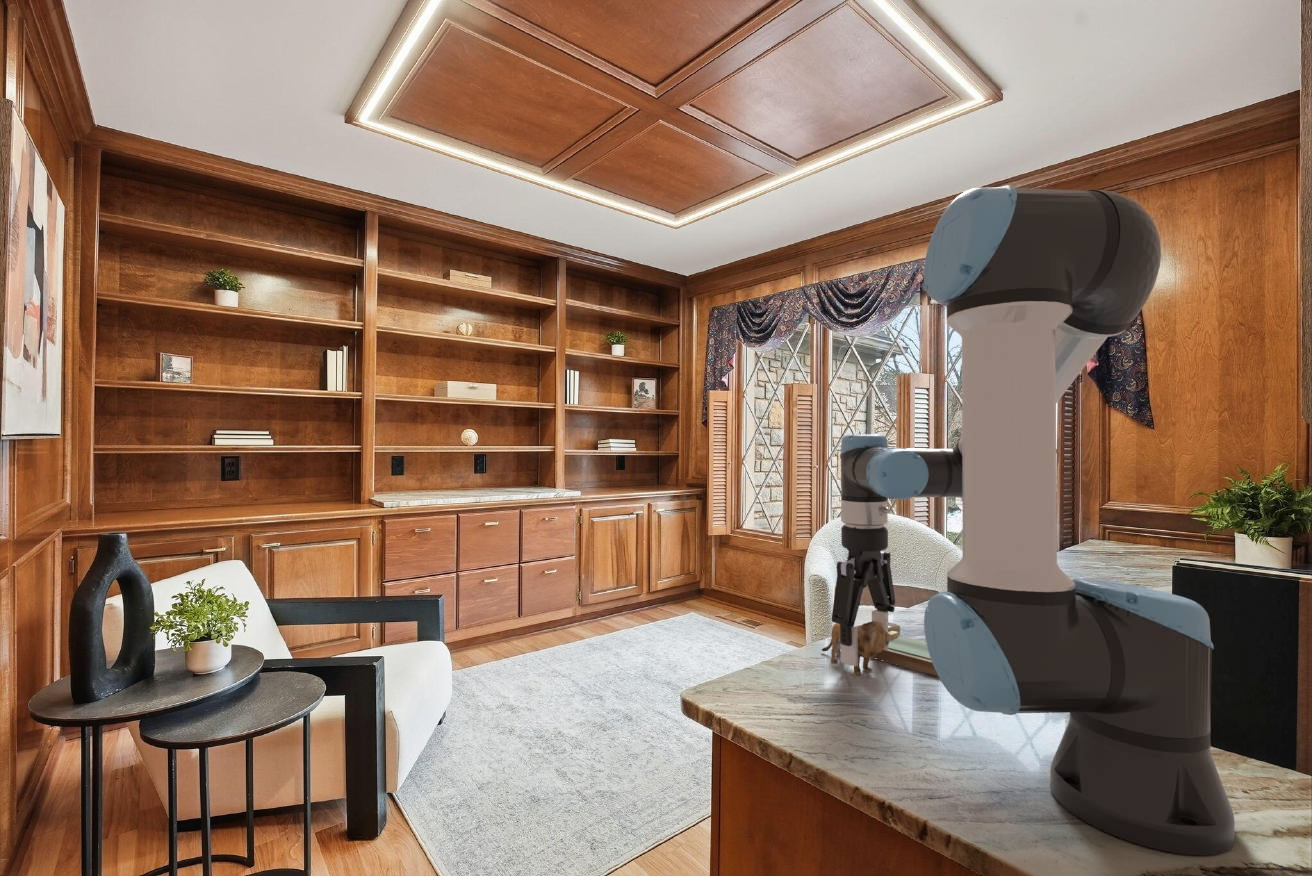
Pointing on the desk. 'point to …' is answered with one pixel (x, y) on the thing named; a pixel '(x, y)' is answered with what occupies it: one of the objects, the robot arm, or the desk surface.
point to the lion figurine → (862, 643)
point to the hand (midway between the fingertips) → (865, 655)
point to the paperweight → (894, 628)
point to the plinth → (907, 654)
